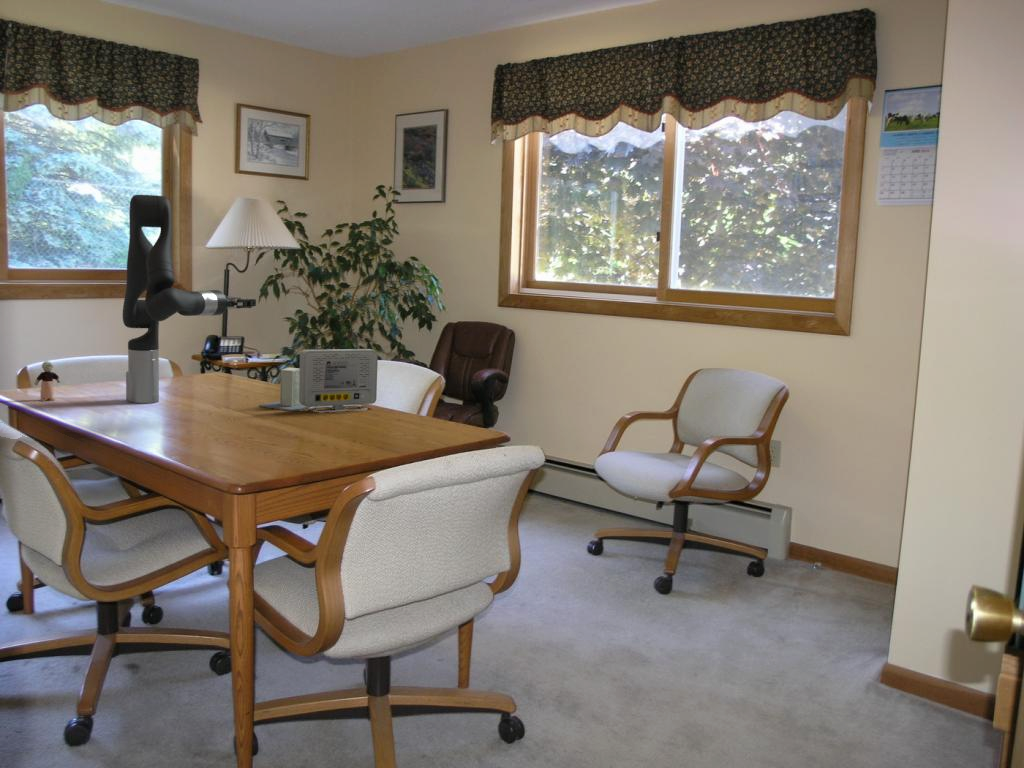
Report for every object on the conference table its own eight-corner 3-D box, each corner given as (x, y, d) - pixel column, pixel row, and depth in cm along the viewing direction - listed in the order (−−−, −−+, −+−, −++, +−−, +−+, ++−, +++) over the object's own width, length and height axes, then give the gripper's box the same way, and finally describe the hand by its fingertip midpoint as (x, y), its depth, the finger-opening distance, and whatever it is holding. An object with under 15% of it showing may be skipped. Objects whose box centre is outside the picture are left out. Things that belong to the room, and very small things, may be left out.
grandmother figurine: (40, 402, 278) (39, 362, 276) (33, 400, 280) (32, 361, 278) (63, 399, 284) (62, 360, 283) (56, 398, 286) (55, 359, 284)
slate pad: (259, 406, 290) (259, 404, 290) (286, 401, 303) (286, 399, 302) (293, 411, 284) (293, 409, 284) (319, 405, 297) (319, 404, 297)
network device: (369, 405, 302) (370, 348, 300) (379, 410, 295) (381, 351, 292) (296, 409, 289) (297, 348, 286) (305, 414, 282) (306, 352, 279)
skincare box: (288, 402, 296) (288, 367, 295) (300, 404, 295) (301, 368, 294) (279, 405, 290) (280, 369, 288) (291, 406, 289) (292, 370, 288)
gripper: (226, 291, 257) (262, 291, 272) (188, 288, 262) (226, 288, 277) (225, 317, 258) (262, 315, 273) (188, 313, 263) (226, 312, 278)
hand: (244, 301), depth 275 cm, fingers open, 8 cm apart
